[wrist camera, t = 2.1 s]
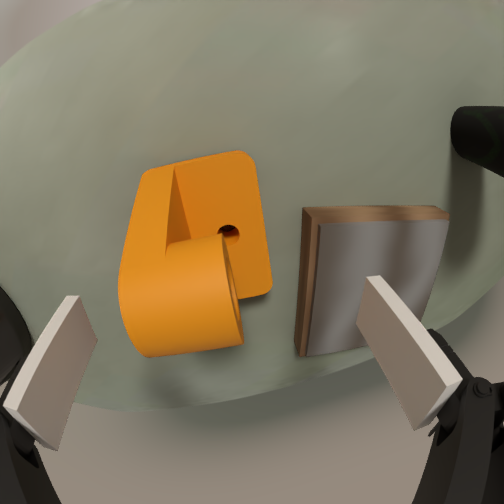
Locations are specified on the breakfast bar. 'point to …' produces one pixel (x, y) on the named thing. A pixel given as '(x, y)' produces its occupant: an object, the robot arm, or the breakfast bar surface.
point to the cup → (480, 136)
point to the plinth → (362, 267)
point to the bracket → (193, 255)
